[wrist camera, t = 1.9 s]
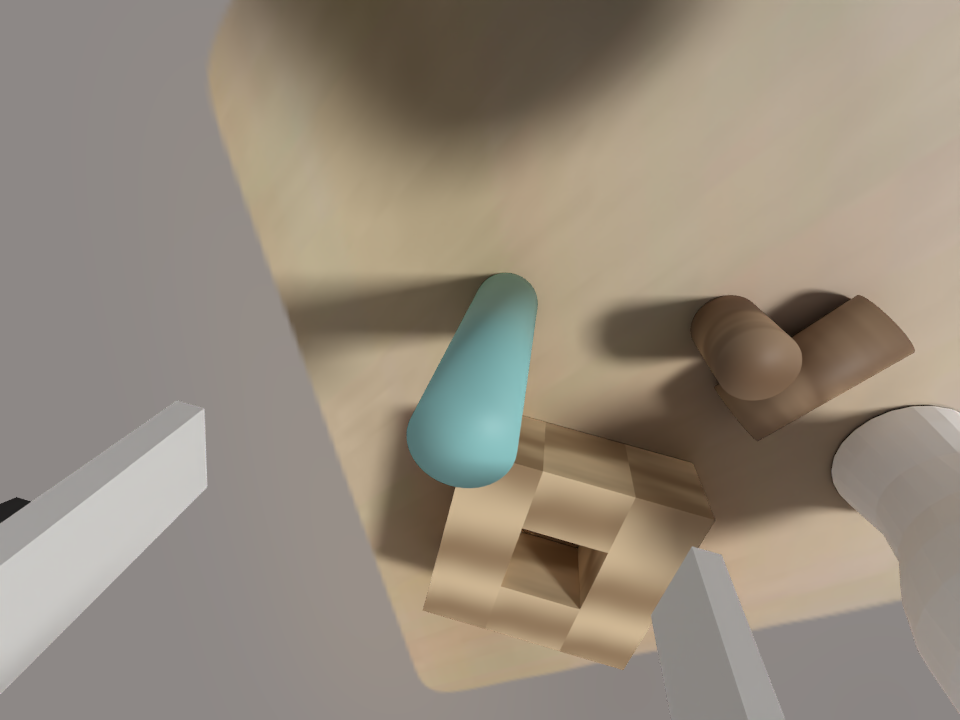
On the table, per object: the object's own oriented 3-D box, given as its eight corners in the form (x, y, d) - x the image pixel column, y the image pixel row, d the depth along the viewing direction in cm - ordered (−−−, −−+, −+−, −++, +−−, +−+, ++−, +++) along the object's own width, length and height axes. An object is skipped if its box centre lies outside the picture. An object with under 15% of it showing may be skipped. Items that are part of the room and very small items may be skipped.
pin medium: (736, 407, 29) (871, 324, 26) (767, 452, 26) (924, 365, 23) (705, 376, 28) (846, 283, 24) (735, 419, 25) (899, 321, 21)
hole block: (479, 403, 31) (465, 449, 27) (692, 463, 31) (715, 520, 26) (439, 553, 37) (422, 610, 33) (615, 604, 37) (623, 670, 32)
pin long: (483, 265, 27) (416, 380, 15) (545, 282, 27) (530, 412, 15) (469, 323, 29) (398, 470, 16) (528, 339, 29) (501, 500, 16)
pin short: (707, 287, 26) (738, 320, 21) (774, 305, 26) (818, 342, 21) (680, 346, 27) (703, 388, 23) (742, 363, 27) (777, 409, 23)
